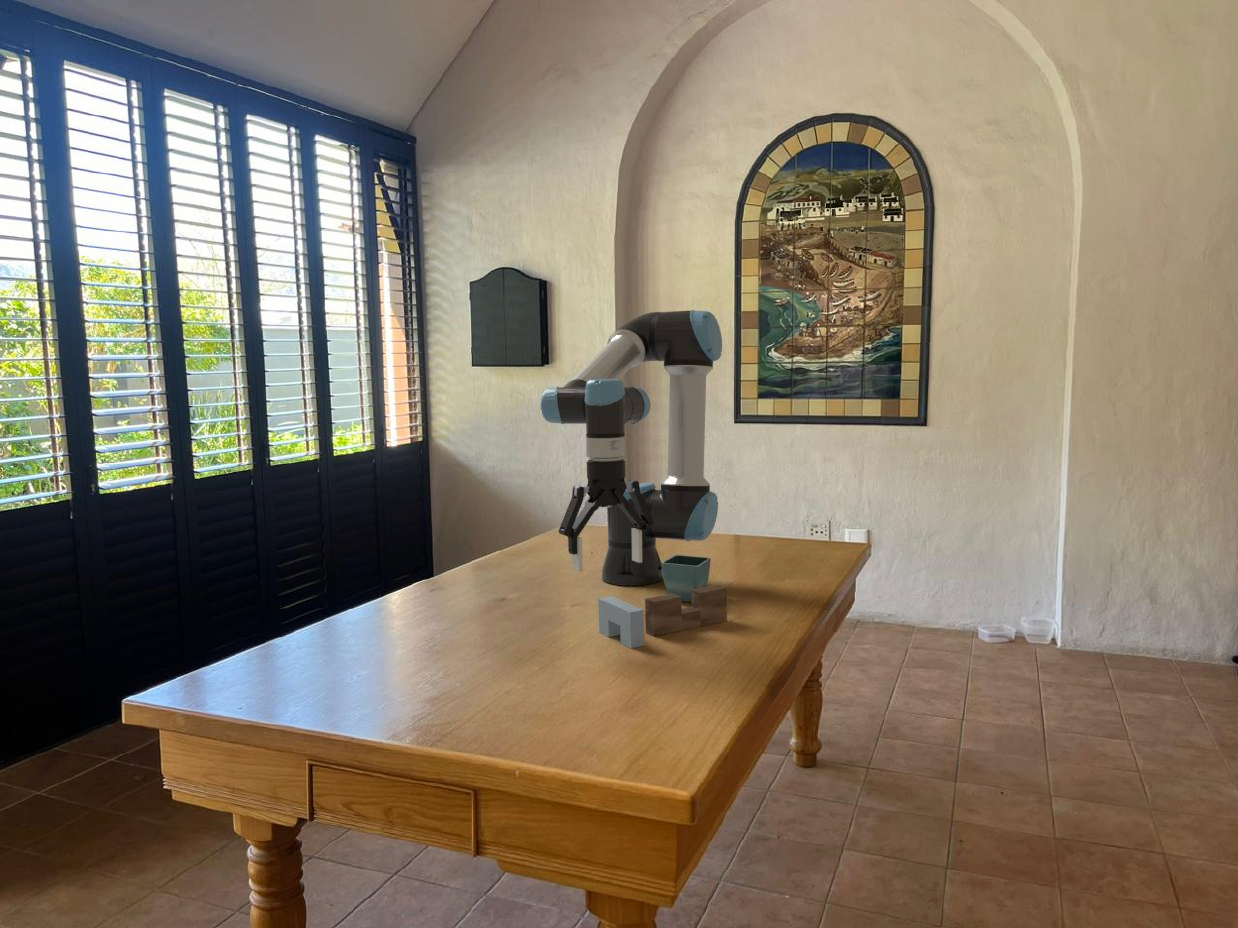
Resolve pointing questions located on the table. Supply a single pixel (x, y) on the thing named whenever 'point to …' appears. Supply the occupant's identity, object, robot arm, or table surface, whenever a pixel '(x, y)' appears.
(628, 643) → the light blue notched brick
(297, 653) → the table surface
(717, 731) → the table surface
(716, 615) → the walnut notched block
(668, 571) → the flower pot
